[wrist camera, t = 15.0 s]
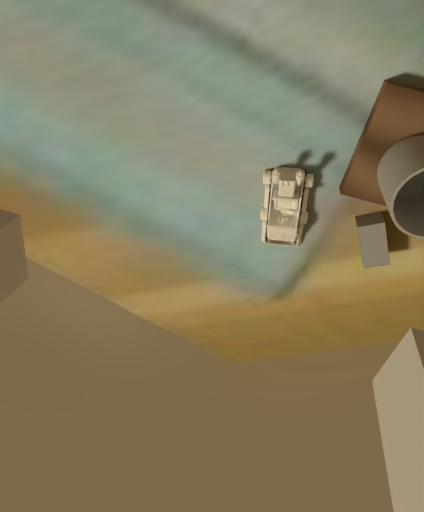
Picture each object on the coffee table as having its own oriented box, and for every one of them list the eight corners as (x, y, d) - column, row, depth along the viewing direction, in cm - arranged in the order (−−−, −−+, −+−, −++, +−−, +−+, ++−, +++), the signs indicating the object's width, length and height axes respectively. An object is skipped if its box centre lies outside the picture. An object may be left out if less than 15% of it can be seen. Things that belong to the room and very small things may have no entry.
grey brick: (354, 215, 46) (357, 227, 44) (381, 210, 45) (384, 222, 43) (361, 255, 49) (363, 268, 47) (385, 251, 48) (389, 264, 46)
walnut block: (384, 80, 38) (387, 83, 36) (504, 109, 37) (513, 113, 35) (339, 186, 45) (340, 193, 43) (439, 213, 44) (444, 221, 42)
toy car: (258, 240, 52) (254, 257, 48) (264, 155, 45) (260, 168, 41) (303, 245, 50) (302, 263, 47) (317, 159, 44) (317, 172, 40)
